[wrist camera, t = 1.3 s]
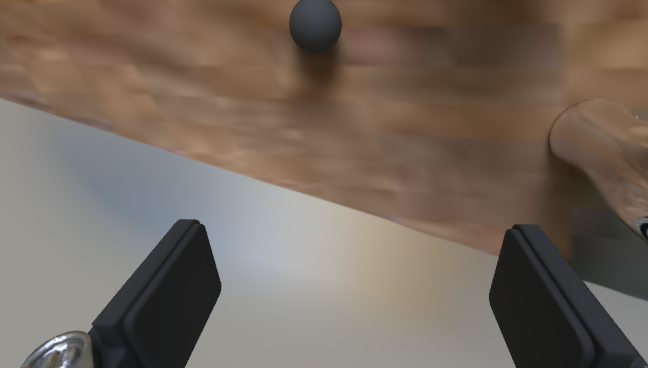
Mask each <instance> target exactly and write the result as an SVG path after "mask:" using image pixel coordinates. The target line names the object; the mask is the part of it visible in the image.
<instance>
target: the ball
mask: <svg viewBox="0 0 648 368" xmlns="http://www.w3.org/2000/svg"><path fill="white" fill-rule="evenodd" d="M341 26H342V23H341V16H340V13H339V11H338V9H337V7H336V6H335V5H334V3H332V2H331V1H330V0H300V1H299V2H298V3H297V4H296V5H295V7H294V8H293V10H292V12H291V15H290V21H289V27H290V33H291V36H292V38H293V40H294V41H295V43H296V44H297V45H298V46H299V47H300V48H301V49H303V50H305V51H307V52H310V53H322V52H325V51H327V50H329V49H330V48H331V47H332V46H333V45H334V44H335V43H336V42H337V40H338V38H339V36H340V33H341Z"/></svg>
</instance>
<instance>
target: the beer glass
mask: <svg viewBox="0 0 648 368" xmlns="http://www.w3.org/2000/svg"><path fill="white" fill-rule="evenodd" d="M549 145H550V148H551V151H552V152H553V154H554V155H555V156H556V157H557V158H558V159H560V160H561V161H563V162H565V163H568V164H570V165H573V166H575V167H577V168H578V169H580V170H581V171H582V172H583V173H584V174H585V175H586V176H587V177H588V179H589V180H590V181H591V183H592V184H593V186H594V187H595V189H596V190H597V192H598V193H599V194H600V196H601V197H602V199H603V200H604V201H605V203H606V204H607V205H608V207H609V208H610V209H611V210H612V212H613V213H614V214H615V215H616V216H617V218H618V219H619V220H620V221H621V222H622V223H623V224H625V225H626V226H627V227H628V228H629V229H630V230H631V231H632V232H633V233H634V234H635V235H636V236H638V237H639V238H640V239H641V240H642V241H644V242H645V243H646V244H647V245H648V120H646V119H643V118H640V117H638V116H636V115H635V114H634V113H633V112H631V111H630V110H629V109H628V108H627V107H626V106H624V105H623V104H622V103H620V102H618V101H616V100H614V99H610V98H592V99H588V100H584V101H582V102H579V103H577V104H575V105H573V106H572V107H570V108H569V109H567V110H566V111H565V112H564V113H563V114H562V115H561V116H560V117H559V118H558V119H557V120H556V122H555V123H554V125H553V127H552V129H551V132H550V136H549Z"/></svg>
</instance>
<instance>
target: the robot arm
mask: <svg viewBox="0 0 648 368" xmlns="http://www.w3.org/2000/svg"><path fill="white" fill-rule="evenodd" d="M220 292H221V281H220V278H219V274H218V271H217V268H216V264H215V260H214V257H213V253H212V250H211V246H210V243H209V239H208V236H207V232H206V229H205V226H204V225H203V224H200V222H199V221H198V220H191V219H188V220H187V219H180V220H178V221H177V222H176V223H175V224H174V225H173V226H172V228H171V229H170V230H169V231H168V232H167V234H166V235H165V236H164V237H163V239H162V240H161V241H160V242H159V243H158V245H157V246H156V247H155V248H154V249H153V250H152V252H151V253H150V254H149V255H148V257H147V258H146V259H145V260H144V261H143V262H142V264H141V265H140V266H139V267H138V268H137V270H136V271H135V272H134V273H133V274H132V276H131V277H130V278H129V279H128V280H127V282H126V283H125V284H124V285H123V286H122V288H121V289H120V290H119V291H118V293H117V294H116V295H115V296H114V297H113V299H112V300H111V301H110V302H109V303H108V305H107V306H106V307H105V308H104V309H103V311H102V312H101V313H100V314H99V315H98V317H97V318H96V319H95V320H94V321H93V323H92V325H93V327H92V329H91V330H90V331H89V332H88V333H85V332H83V331H71V332H66V333H63V334H60V335H57V336H56V337H54V338H52V339H50V340H48V341H46V342H45V343H44V344H42V345H41V346H39V347H38V348H37V349H35V350H34V351H33V352H32V353H31V354H30V355H29V356H28V357H27V359H26V360H25V361H24V363H23V365H22V366H21V368H185V366H186V364H187V361H188V360H189V358H190V356H191V353H192V351H193V349H194V347H195V345H196V343H197V341H198V339H199V337H200V335H201V333H202V331H203V329H204V326H205V324H206V322H207V320H208V318H209V316H210V314H211V312H212V310H213V308H214V306H215V304H216V301H217V299H218V297H219V295H220ZM489 302H490V306H491V308H492V311H493V313H494V316H495V318H496V320H497V323H498V325H499V328H500V330H501V332H502V335H503V337H504V340H505V342H506V344H507V347H508V349H509V352H510V354H511V356H512V359H513V361H514V364H515V366H516V368H648V364H647V363H646V361H645V360H644V359H643V358H642V356H641V355H640V354H639V352H638V351H637V350H636V349H635V347H634V346H633V345H632V344H631V342H630V341H629V340H628V339H627V337H626V336H625V335H624V333H623V332H622V331H621V329H620V328H619V327H618V326H617V324H616V323H615V322H614V320H613V319H612V318H611V317H610V315H609V314H608V313H607V311H606V310H605V309H604V308H603V306H602V305H601V304H600V302H599V301H598V300H597V299H596V297H595V296H594V295H593V293H592V292H591V291H590V290H589V288H588V287H587V286H586V285H585V283H584V282H583V281H582V279H581V278H580V277H579V276H578V275H577V274H576V273H575V272H574V270H573V269H572V268H571V267H570V265H569V264H568V263H567V261H566V260H565V259H564V257H563V256H562V255H561V254H560V252H559V251H558V250H557V248H556V247H555V246H554V245H553V243H552V242H551V241H550V239H549V238H548V237H547V236H546V234H545V233H544V232H543V230H542V229H541V228H540V227H539V226H538V225H531V224H515V225H514V226H513V227H512V229H508V230H507V231H506V233H505V236H504V240H503V244H502V247H501V251H500V255H499V259H498V262H497V266H496V270H495V274H494V278H493V281H492V285H491V289H490V293H489Z"/></svg>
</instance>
